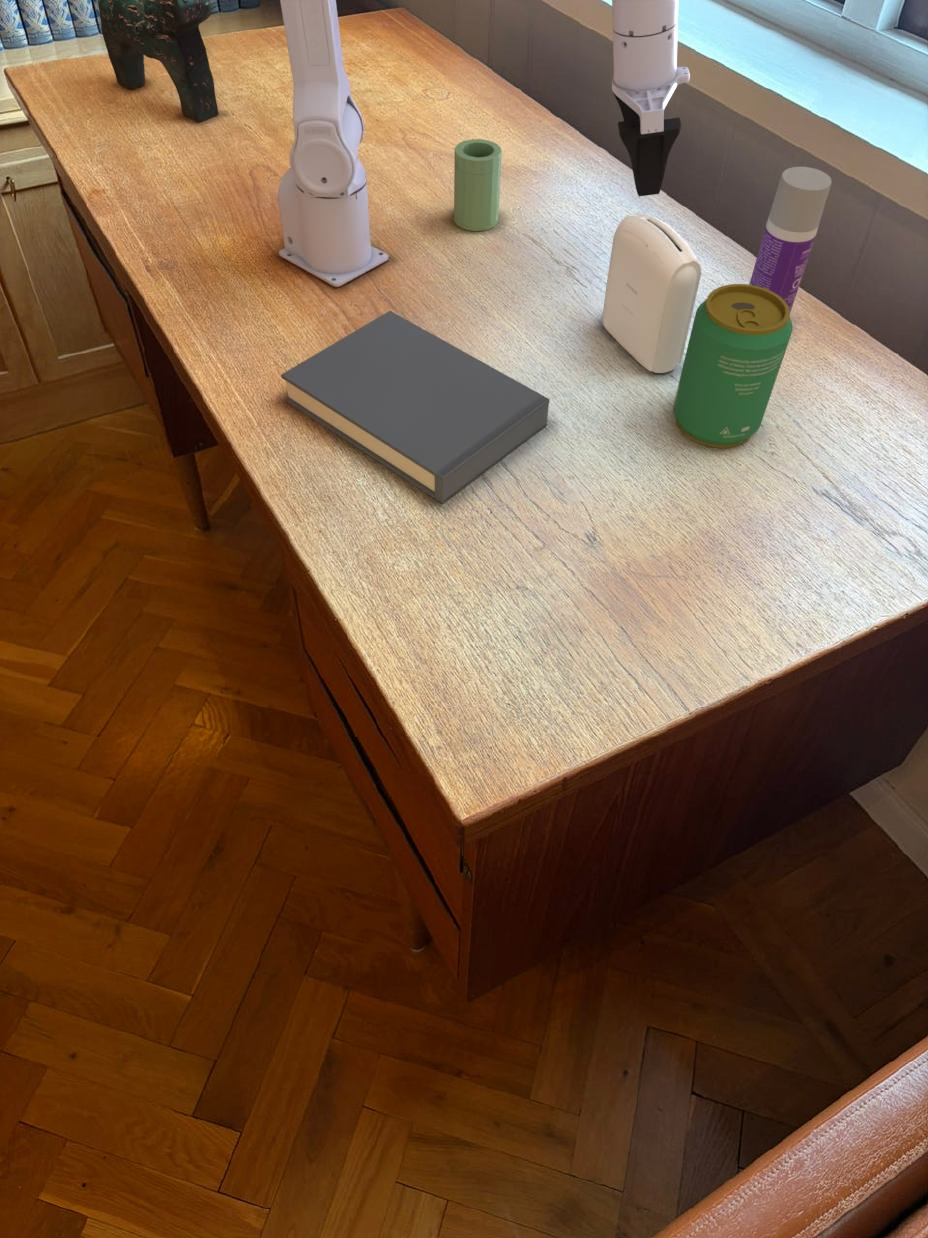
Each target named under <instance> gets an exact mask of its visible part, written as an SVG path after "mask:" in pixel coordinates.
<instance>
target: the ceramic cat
mask: <svg viewBox="0 0 928 1238" xmlns="http://www.w3.org/2000/svg"><path fill="white" fill-rule="evenodd" d="M97 5H98V12H99V20H100V25H101V26H100V28H101V29H100V30H101V35H102V38H103V41H104V45H105V48H106V50H107V55H108V59H109V62H110V64H111V67H112V69H113V72H114V75H115V79H116V82H117V84H118V85H119V86H121V87H122V88H124V89H126V90H129V91H134V90H136V89H138V88H142V87H145V86H146V69H145V57H146V58H149V59H153V60H157V61H159V62H160V63H161V64H162V66H163V68H164V69H165V71H166V72H167V74H168V76H169V78H170V79H171V81H172V83H173V86H174V87H175V90H176V92H177V95H178V98H179V102H180V109H181V113H182V115H183V117H186V118H189V119H192V120H194V122H197V123H202V122H205V121H207V120H211V119H212V118H215V117H217V116H219V108H218V103H217V97H216V90H215V88H216V87H215V80H214V76H213V74H212V73H213V72H212V69H211V68H210V67H211V66H210V61H209V57H208V53H207V52H208V51H207V47H206V46H205V43H204V40H203V37H202V33H201V30H200V25H201V24H202V23H203V22H205V21H206V20H208V19H209V18H210V17H211V15H212V12H211V11H212V10H211V1H210V0H97Z"/></svg>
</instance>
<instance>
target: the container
mask: <svg viewBox="0 0 928 1238" xmlns="http://www.w3.org/2000/svg"><path fill="white" fill-rule="evenodd" d="M831 187H832V178H831V177H830V176H829V174H827V173H826V172H824V171H823V170H820V169H818V168H813V167H809V166H793V167H788V168H786V169H784V170H783V171H782V173H781V176H780V179H779V183H778V186H777V189H776V192H775V195H774V199H773V202H772V206H771V207H770V211H769V214H768V217H767V221H766V223H765V228H764V231H763V235H762V238H761V242H760V246H759V249H758V252H757V256H756V259H755V262H754V267H753V269H752V274H751V276H750V280H749V283H748V285H754V286H759V287H762V288H765V289H768V290H770V291H772V292H774V293H776V294H777V295H779V296H780V297H781V298H782V299H783V300H784V301H785V302H786V303H787V305H788V306H789V309H790V313H791V312H792V309H793V305H794V302H795V300H796V297H797V293H798V291H799V288H800V285H801V282H802V278H803V277H804V276H803V275H804V272H805V270H806V267H807V264H808V260H809V259H810V258H809V257H810V254H811V251H812V249H813V246H814V241H815V239H816V237H817V233H818V230H819V226H820V223H821V220H822V217H823V213H824V209H825V207H826V203H827V199H828V196H829V193H830V190H831Z"/></svg>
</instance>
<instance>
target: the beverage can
mask: <svg viewBox="0 0 928 1238" xmlns="http://www.w3.org/2000/svg"><path fill="white" fill-rule="evenodd" d="M793 327H794V326H793V322H792V319H791V312H790V309H789V306H788V305H787V303H786V302H785V301H784V300H783V299H782V298H781V297H780V296H779V295H777V294H776V293H774V292H772V291H770V290H768V289H765V288H762V287H759V286H754V285H749V283H748V284H747V283H732V284H725V285H721V286H719V287H717V288H714V289H713V290H712V291H710V292H709V294H708V295H707V296H706V299H705V300H704V301H703V302H702V303H700V305H699V306H698V307H697V309H696V310H695V315H694V319H693V323H692V327H691V330H690V336H689V339H688V343H687V348H686V351H685V356H684V360H683V364H682V368H681V372H680V376H679V380H678V385H677V389H676V393H675V398H674V402H673V407H672V409H673V410H672V411H673V415H674V417H675V420H676V424H677V427H678V428H679V430H680V431H681V432H682V433H683V434H684V435H685V436H686V437H687V438H688V439H690V440H692V441H694V442H695V443H698V444H700V445H703V446H707V447H711V448H720V449H721V448H722V449H723V448H732V447H736V446H740V445H742V444H744V443H745V442H747V441H748V440H749V439H750V438H751V436H753V435H754V434H756V433H757V432H758V431H759V429H760V427H761V425H762V422H763V419H764V416H765V413H766V410H767V408H768V405H769V401H770V398H771V395H772V393H773V390H774V387H775V383H776V380H777V377H778V375H779V372H780V369H781V366H782V363H783V360H784V357H785V354H786V351H787V348H788V346H789V342H790V338H791V337H792V333H793Z"/></svg>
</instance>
